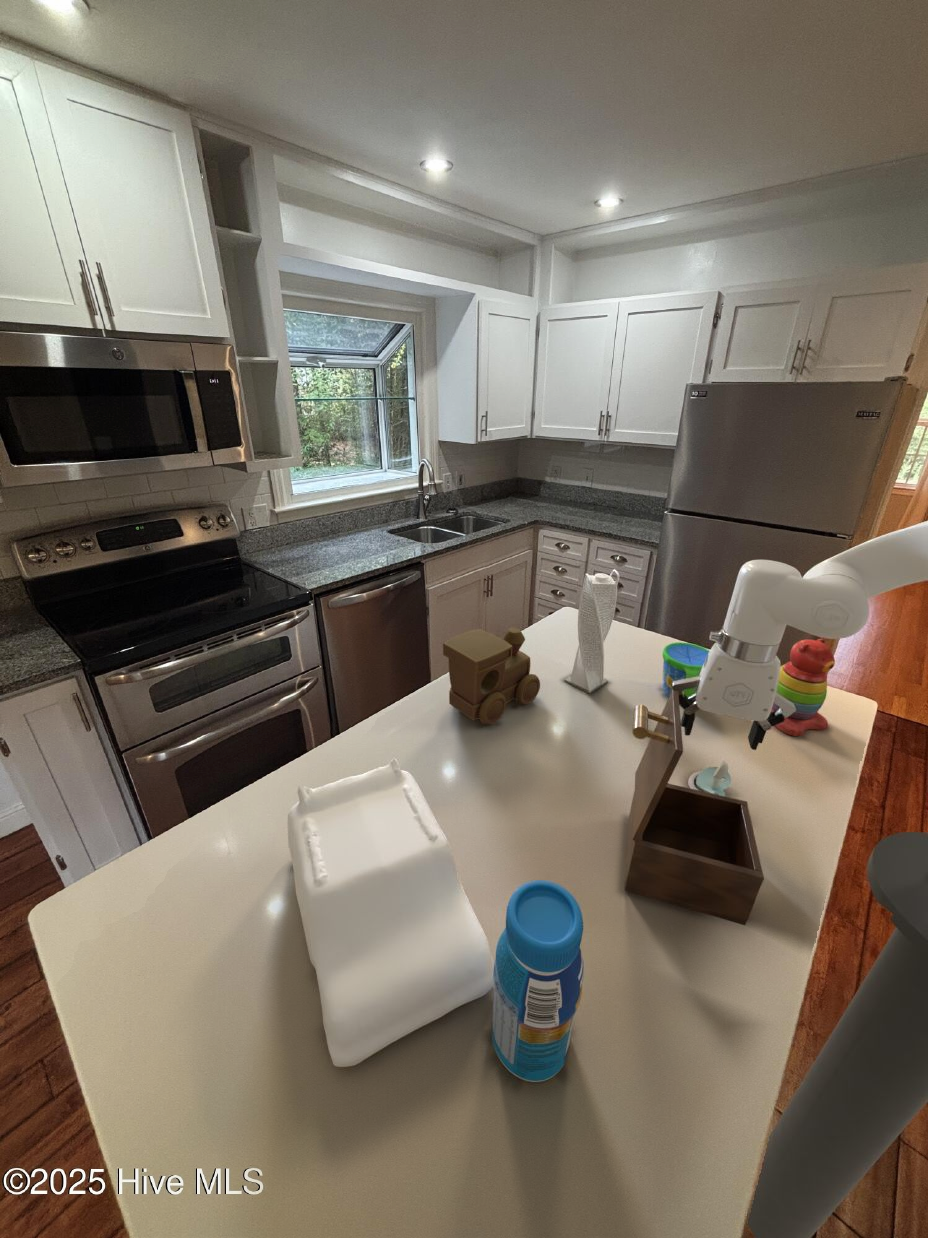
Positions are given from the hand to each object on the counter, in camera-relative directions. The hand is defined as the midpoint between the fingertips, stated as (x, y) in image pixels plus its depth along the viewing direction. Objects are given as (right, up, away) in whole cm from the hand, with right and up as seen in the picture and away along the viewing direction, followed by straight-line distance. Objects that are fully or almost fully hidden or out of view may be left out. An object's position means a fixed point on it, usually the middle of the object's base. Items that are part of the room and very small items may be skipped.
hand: (718, 737), depth 80 cm
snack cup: (+7, +2, +30) cm, 31 cm away
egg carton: (-52, -19, -16) cm, 57 cm away
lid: (-16, 0, -15) cm, 22 cm away
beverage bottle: (-34, -25, -28) cm, 51 cm away
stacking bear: (+26, -2, +22) cm, 34 cm away
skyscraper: (-13, +4, +33) cm, 36 cm away
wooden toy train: (-35, +1, +26) cm, 43 cm away
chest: (-10, -16, -10) cm, 21 cm away
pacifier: (0, -10, +4) cm, 11 cm away
